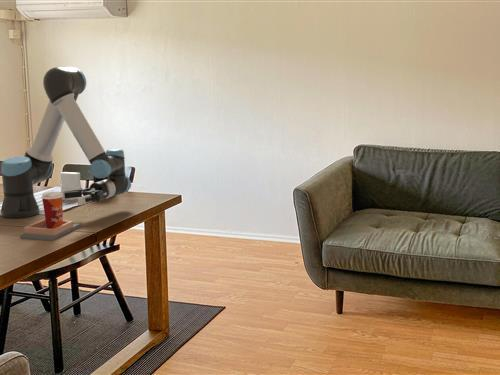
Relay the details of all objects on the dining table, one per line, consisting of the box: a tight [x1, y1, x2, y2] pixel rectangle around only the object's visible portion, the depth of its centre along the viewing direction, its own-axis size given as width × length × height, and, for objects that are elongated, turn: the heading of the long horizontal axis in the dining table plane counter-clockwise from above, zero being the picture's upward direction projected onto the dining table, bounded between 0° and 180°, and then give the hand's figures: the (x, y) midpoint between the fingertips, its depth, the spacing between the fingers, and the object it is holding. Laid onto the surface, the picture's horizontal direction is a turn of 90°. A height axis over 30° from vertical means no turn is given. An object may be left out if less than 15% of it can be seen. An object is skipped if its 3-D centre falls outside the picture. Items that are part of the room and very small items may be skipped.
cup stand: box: [19, 218, 82, 242], centre depth 230 cm, size 13×20×3 cm, turn 164°
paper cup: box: [40, 191, 64, 229], centre depth 227 cm, size 8×8×14 cm
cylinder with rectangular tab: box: [60, 171, 82, 201], centre depth 287 cm, size 9×9×12 cm
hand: (64, 200), depth 236 cm, fingers open, 13 cm apart
